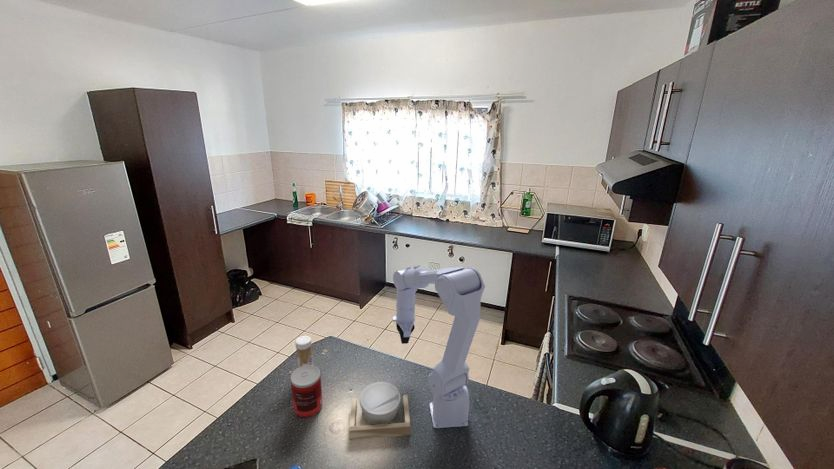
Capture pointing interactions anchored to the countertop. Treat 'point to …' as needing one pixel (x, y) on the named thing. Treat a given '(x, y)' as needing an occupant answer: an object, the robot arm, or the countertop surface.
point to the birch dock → (379, 425)
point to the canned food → (306, 390)
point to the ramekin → (380, 402)
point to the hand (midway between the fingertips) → (404, 342)
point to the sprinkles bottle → (304, 351)
